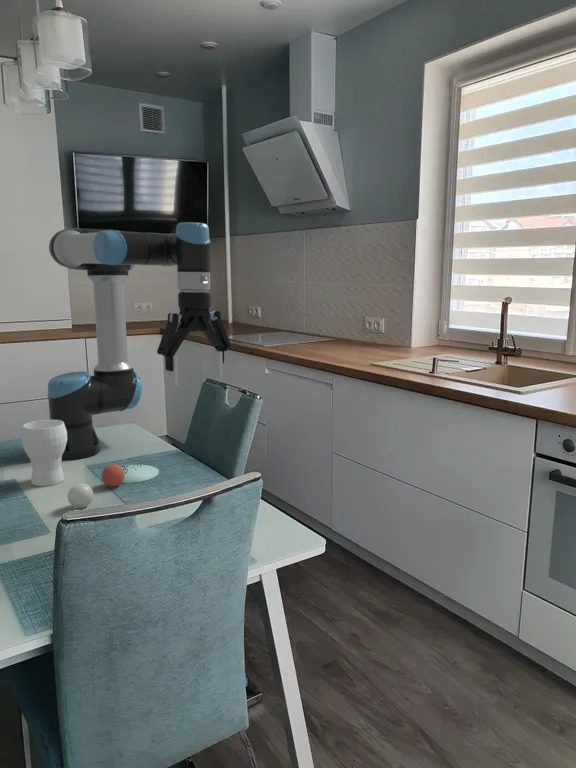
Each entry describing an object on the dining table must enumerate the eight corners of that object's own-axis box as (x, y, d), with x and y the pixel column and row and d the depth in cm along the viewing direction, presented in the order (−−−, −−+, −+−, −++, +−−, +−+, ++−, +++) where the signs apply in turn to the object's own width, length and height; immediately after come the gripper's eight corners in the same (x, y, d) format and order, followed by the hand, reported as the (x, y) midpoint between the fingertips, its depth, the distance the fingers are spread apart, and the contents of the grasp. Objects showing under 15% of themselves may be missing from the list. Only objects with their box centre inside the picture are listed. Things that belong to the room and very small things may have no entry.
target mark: (95, 473, 155) (94, 472, 155) (142, 462, 164) (142, 461, 164) (120, 487, 145) (120, 486, 145) (169, 474, 154) (168, 473, 154)
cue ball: (64, 506, 133) (62, 483, 132) (87, 500, 137) (86, 478, 136) (74, 514, 129) (73, 490, 128) (98, 507, 133) (97, 484, 132)
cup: (25, 477, 152) (20, 421, 149) (68, 471, 156) (65, 417, 153) (25, 491, 142) (20, 431, 140) (71, 485, 146) (67, 427, 144)
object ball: (98, 485, 146) (97, 464, 145) (118, 480, 150) (117, 459, 149) (108, 491, 142) (107, 470, 141) (129, 486, 146) (128, 465, 145)
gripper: (159, 292, 125) (162, 390, 129) (244, 290, 143) (245, 376, 147) (139, 291, 130) (143, 385, 134) (224, 289, 148) (225, 372, 152)
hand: (196, 380), depth 140 cm, fingers open, 13 cm apart
